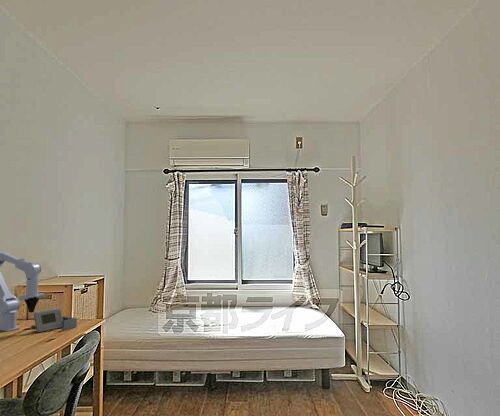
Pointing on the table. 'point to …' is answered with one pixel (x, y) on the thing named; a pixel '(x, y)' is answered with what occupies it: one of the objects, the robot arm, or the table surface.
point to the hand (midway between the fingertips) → (31, 312)
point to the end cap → (69, 323)
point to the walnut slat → (33, 327)
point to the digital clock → (48, 319)
